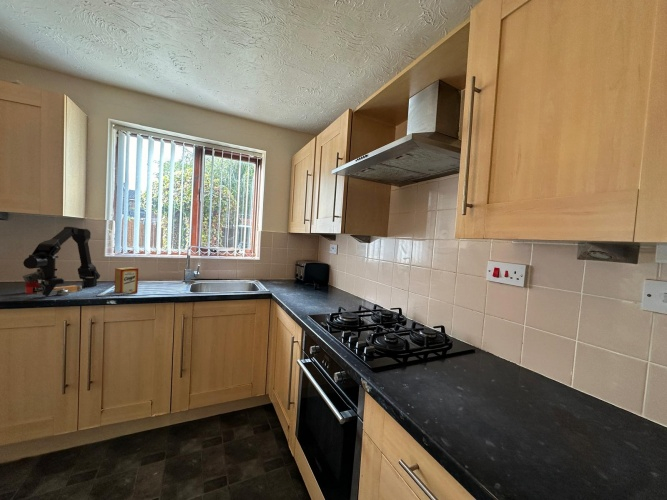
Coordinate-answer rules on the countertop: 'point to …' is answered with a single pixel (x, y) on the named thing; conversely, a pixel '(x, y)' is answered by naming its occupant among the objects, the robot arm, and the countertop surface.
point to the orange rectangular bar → (66, 288)
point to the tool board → (79, 288)
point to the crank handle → (55, 292)
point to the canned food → (32, 287)
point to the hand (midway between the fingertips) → (46, 296)
